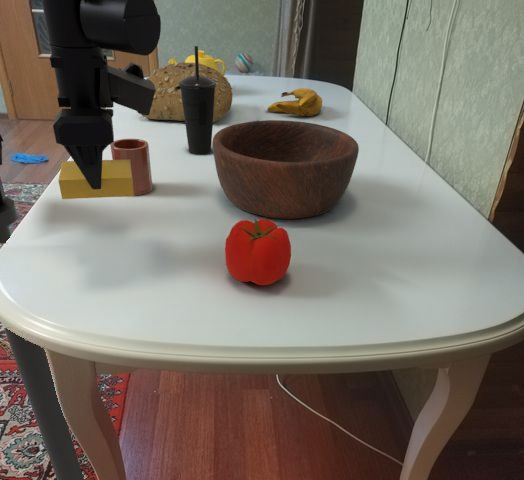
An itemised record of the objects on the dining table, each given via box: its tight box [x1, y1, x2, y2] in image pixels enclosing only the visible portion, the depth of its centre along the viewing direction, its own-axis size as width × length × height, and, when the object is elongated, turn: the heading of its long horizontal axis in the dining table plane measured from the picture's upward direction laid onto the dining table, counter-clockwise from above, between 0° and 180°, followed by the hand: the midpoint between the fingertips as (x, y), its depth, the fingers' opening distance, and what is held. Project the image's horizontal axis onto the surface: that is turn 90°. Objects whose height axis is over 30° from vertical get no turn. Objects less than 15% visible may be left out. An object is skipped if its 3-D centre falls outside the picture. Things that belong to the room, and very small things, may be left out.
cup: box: [110, 138, 153, 196], centre depth 91 cm, size 6×6×8 cm
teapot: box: [167, 50, 229, 82], centre depth 151 cm, size 14×14×11 cm
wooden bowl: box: [211, 119, 360, 220], centre depth 89 cm, size 25×25×10 cm
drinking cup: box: [179, 45, 216, 156], centre depth 105 cm, size 8×8×20 cm
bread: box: [142, 61, 234, 123], centre depth 131 cm, size 24×21×12 cm
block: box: [58, 159, 135, 200], centre depth 68 cm, size 9×7×2 cm
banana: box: [267, 87, 323, 117], centre depth 139 cm, size 15×19×6 cm
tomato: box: [224, 218, 292, 286], centre depth 68 cm, size 9×9×8 cm
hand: (97, 178), depth 68 cm, fingers closed on block, 7 cm apart
